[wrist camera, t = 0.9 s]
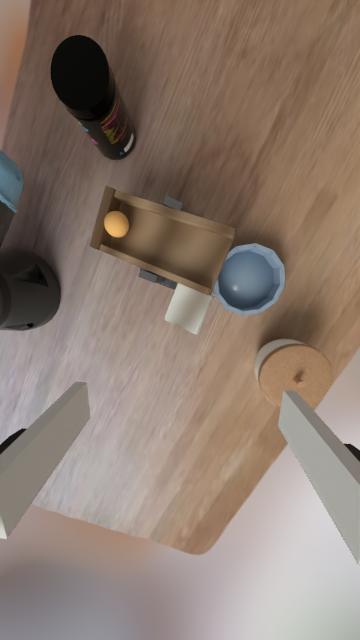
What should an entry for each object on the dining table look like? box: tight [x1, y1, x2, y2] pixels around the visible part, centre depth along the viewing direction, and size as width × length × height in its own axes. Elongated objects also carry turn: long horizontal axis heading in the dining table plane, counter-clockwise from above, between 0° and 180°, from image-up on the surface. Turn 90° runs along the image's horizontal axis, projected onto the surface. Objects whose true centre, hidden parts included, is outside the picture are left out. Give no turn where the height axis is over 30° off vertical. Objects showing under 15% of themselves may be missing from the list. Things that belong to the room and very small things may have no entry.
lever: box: [90, 186, 236, 335], centre depth 27 cm, size 18×14×3 cm
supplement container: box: [51, 35, 135, 160], centre depth 27 cm, size 7×7×10 cm
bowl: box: [213, 243, 285, 315], centre depth 33 cm, size 11×11×4 cm
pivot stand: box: [139, 196, 185, 290], centre depth 30 cm, size 7×12×9 cm, turn 159°
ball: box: [104, 211, 129, 237], centre depth 27 cm, size 3×3×3 cm
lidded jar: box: [254, 339, 333, 407], centre depth 33 cm, size 11×11×9 cm
